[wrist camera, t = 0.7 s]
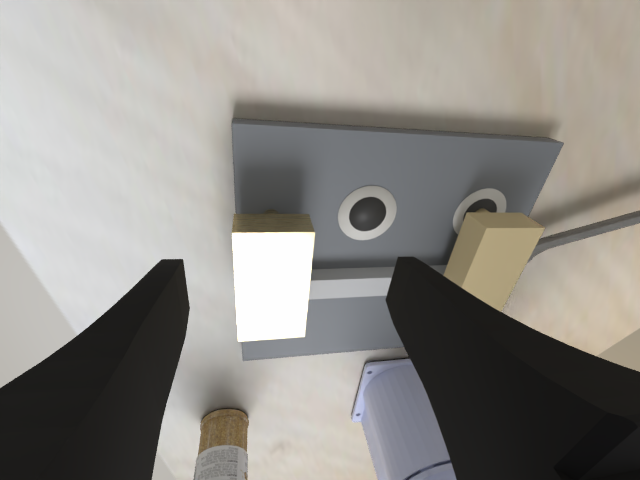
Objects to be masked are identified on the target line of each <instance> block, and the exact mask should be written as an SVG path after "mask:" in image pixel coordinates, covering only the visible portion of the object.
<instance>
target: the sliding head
mask: <svg viewBox="0 0 640 480" xmlns="http://www.w3.org/2000/svg"><path fill="white" fill-rule="evenodd" d="M314 237H315V231H314V228H313V225H312V222H311V219H310V216H309V214H279V213H278V211H276V210H274V209H268V210H266V211H265V212H264V213H263V214H234V219H233V228H232V242H233V260H234V278H235V296H236V314H237V332H238V342H241V341H254V340H267V339H281V338H294V337H305V327H306V317H307V307H308V297H309V287H310V277H311V267H312V257H313V247H314Z"/></svg>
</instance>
